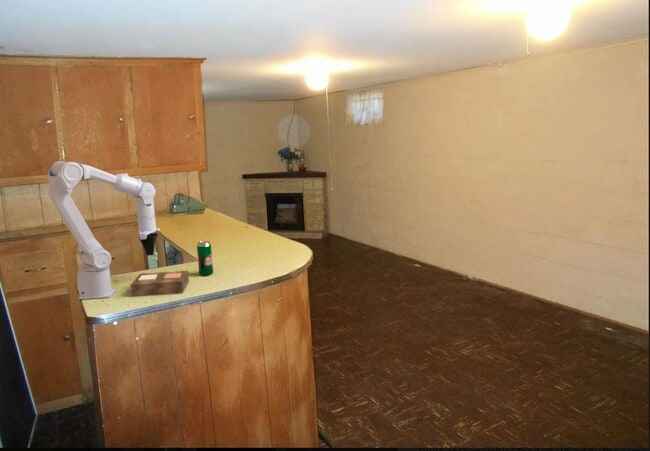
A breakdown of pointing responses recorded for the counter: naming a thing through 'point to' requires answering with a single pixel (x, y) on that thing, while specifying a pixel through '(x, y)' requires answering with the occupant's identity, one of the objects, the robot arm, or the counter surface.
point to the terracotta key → (172, 276)
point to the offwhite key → (147, 277)
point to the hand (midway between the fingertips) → (150, 254)
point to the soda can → (204, 258)
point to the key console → (160, 284)
